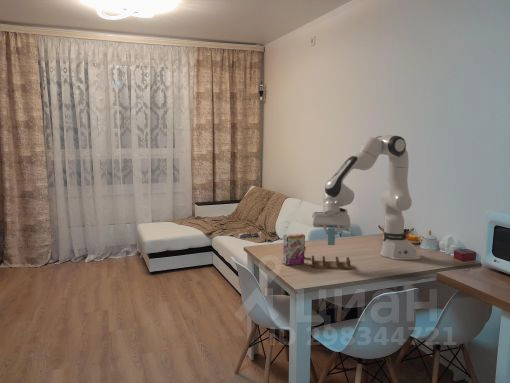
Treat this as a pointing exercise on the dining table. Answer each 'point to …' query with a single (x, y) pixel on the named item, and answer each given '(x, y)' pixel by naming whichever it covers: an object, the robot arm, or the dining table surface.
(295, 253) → the candy bar box
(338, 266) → the rack
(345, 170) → the robot arm
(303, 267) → the dining table surface
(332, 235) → the teal rectangular block
